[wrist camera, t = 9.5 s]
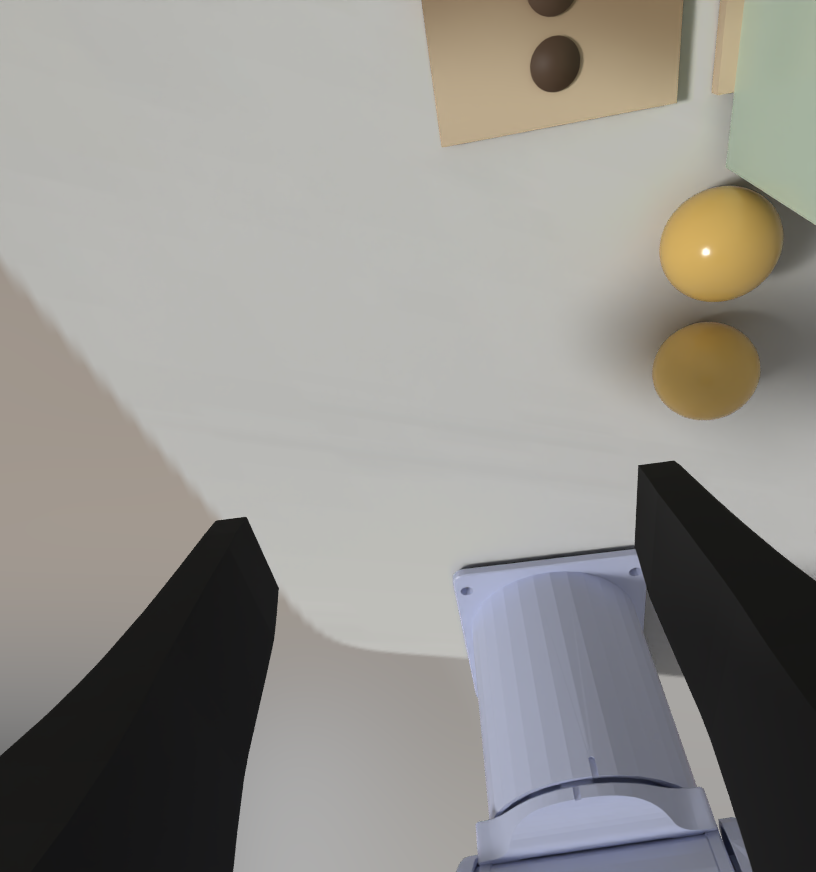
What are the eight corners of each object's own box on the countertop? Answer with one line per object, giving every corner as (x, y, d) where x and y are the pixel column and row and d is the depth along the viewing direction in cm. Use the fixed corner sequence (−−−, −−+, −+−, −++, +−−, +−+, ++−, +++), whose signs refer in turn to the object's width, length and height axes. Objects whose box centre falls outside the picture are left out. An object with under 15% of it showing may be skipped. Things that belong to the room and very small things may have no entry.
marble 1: (746, 267, 19) (794, 311, 17) (643, 283, 19) (676, 328, 17) (760, 163, 17) (817, 195, 15) (647, 183, 18) (685, 217, 15)
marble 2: (729, 379, 21) (770, 432, 19) (638, 392, 22) (666, 446, 19) (741, 297, 20) (787, 344, 17) (642, 313, 20) (673, 361, 18)
